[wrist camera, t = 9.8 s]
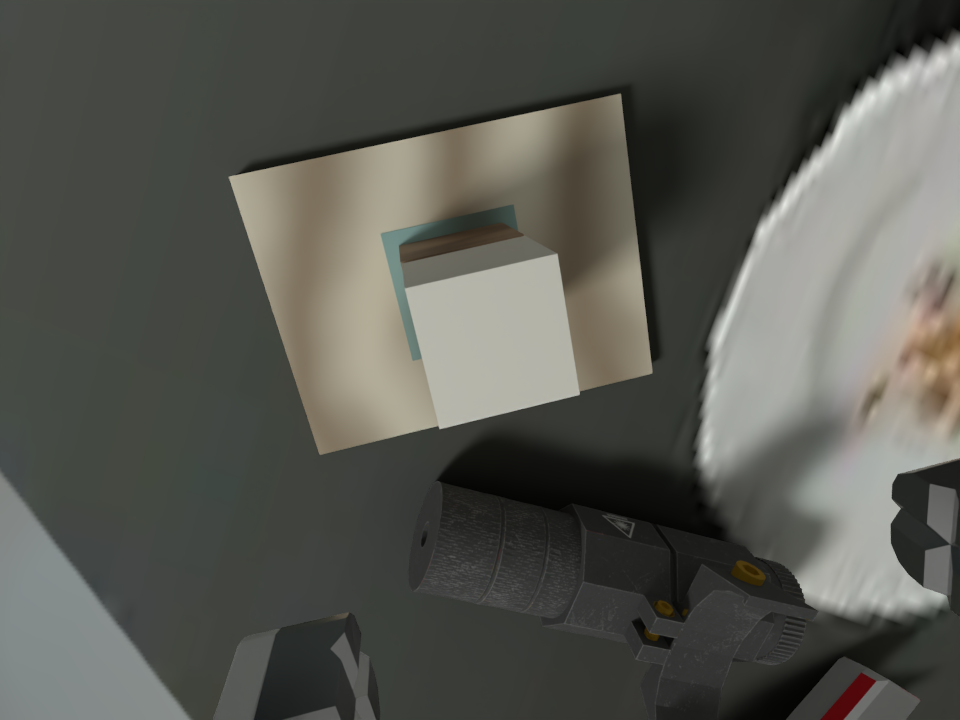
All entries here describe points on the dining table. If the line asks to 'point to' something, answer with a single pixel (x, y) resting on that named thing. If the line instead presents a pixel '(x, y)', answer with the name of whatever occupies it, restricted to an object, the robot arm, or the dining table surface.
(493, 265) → the cream block
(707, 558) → the laser sight
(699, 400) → the dining table surface
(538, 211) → the beige rectangular board
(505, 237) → the walnut block
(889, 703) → the toy gun
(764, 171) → the dining table surface
